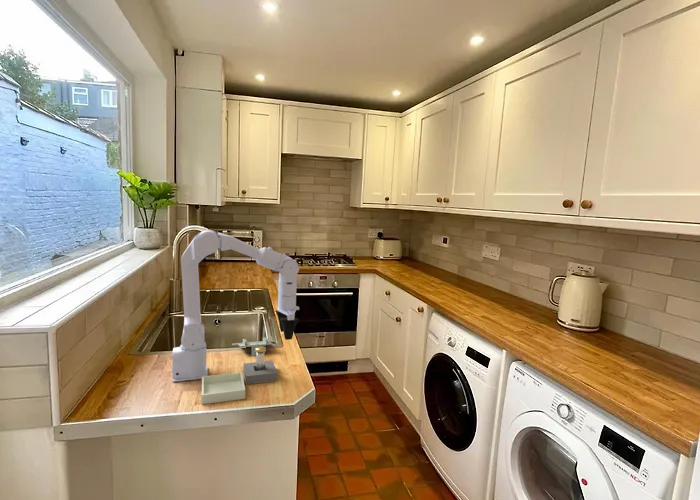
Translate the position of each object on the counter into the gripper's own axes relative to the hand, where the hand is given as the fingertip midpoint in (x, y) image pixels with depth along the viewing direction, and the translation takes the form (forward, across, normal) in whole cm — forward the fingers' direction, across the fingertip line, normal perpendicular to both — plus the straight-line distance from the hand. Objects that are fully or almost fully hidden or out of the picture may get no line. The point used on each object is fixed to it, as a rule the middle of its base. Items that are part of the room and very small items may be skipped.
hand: (286, 335), depth 122 cm
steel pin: (+10, -6, +9) cm, 15 cm away
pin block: (+10, -6, +9) cm, 15 cm away
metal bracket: (+11, +16, +8) cm, 21 cm away
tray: (+10, -13, +20) cm, 26 cm away
